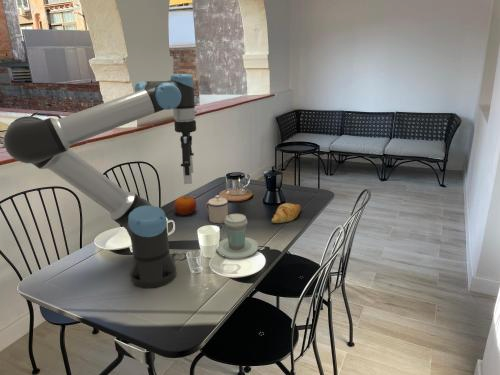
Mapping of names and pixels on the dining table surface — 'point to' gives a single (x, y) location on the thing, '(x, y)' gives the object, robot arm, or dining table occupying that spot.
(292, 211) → the croissant
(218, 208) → the teacup with lid
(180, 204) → the fruit
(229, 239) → the coffee cup
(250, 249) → the saucer
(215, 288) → the dining table surface
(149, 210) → the robot arm
